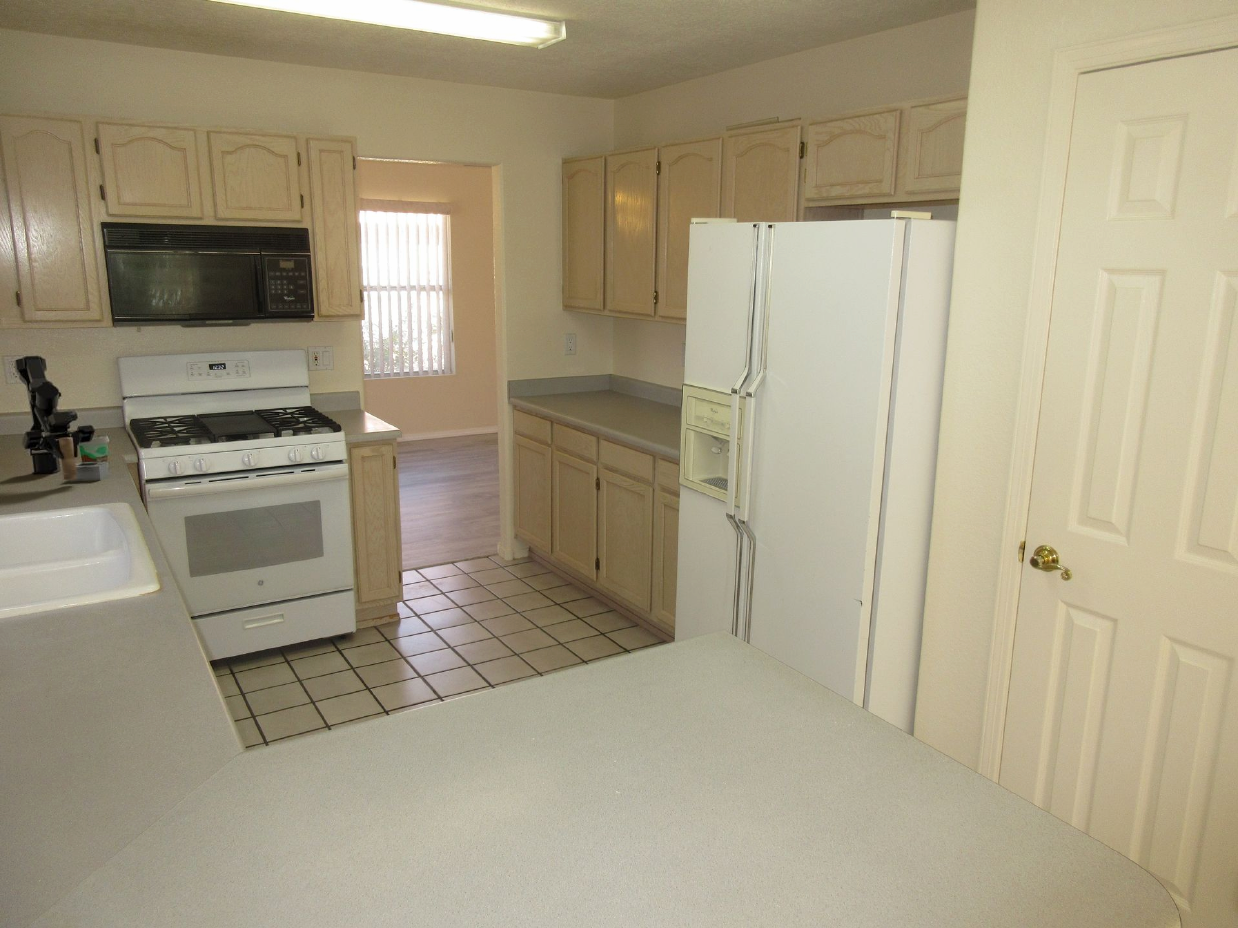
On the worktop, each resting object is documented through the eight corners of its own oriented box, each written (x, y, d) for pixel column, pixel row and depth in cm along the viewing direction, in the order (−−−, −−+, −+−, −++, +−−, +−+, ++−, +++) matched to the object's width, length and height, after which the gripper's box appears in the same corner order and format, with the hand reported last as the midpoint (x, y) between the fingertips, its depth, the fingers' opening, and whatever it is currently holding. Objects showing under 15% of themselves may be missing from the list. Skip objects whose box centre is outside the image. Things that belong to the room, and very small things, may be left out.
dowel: (61, 479, 266) (57, 439, 263) (66, 477, 269) (61, 437, 267) (74, 479, 266) (70, 438, 264) (78, 477, 270) (74, 437, 268)
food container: (98, 468, 296) (95, 439, 294) (80, 468, 296) (76, 439, 294) (119, 462, 308) (116, 434, 306) (102, 462, 308) (99, 434, 306)
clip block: (68, 481, 274) (67, 467, 273) (79, 476, 283) (77, 462, 282) (100, 480, 276) (98, 466, 275) (109, 474, 285) (108, 461, 284)
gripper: (21, 404, 258) (41, 445, 254) (89, 399, 273) (108, 437, 269) (14, 428, 265) (33, 468, 260) (80, 422, 279) (100, 459, 275)
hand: (69, 457), depth 266 cm, fingers closed on dowel, 3 cm apart
